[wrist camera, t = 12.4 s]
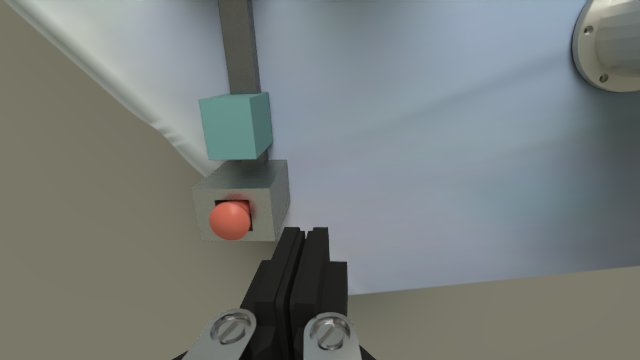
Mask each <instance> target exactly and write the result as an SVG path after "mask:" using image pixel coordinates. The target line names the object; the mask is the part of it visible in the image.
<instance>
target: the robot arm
mask: <svg viewBox="0 0 640 360" xmlns="http://www.w3.org/2000/svg"><path fill="white" fill-rule="evenodd" d="M572 50H573V59H574V62H575V65H576V68H577V69H578V71H579V73H580V74H581V76H582V77H583V78H584V79H585V80H586V81H587V82H588V83H589V84H591V85H593V86H595V87H597V88H599V89H602V90H606V91H613V92H634V91H639V90H640V0H588V2H587V3H586V5H585V6H584V8H583V10H582V12H581V14H580V16H579V18H578V21H577V23H576V27H575V31H574V34H573V43H572ZM347 297H348V281H347V262H336V261H330V256H329V235H328V227H314V228H313V231H308V234H307V237H306V238H305V231H300V228H299V227H285V228H284V231H283V233H282V235H281V238H280V240H279V242H278V245H277V247H276V250H275V252H274V254H273V257H272V259H271V260H263V261H262V262H261V263H260V266H259V268H258V270H257V272H256V274H255V276H254V278H253V280H252V283H251V285H250V287H249V289H248V291H247V293H246V295H245V298H244V300H243V302H242V304H241V306H240V308H239V309H231V310H227V311H225V312H223V313H221V314H219V315H218V316H216V317H215V318H214V319H213V320H212V321H211V322H210V323H209V324H208V325H207V327H206V328H205V329H204V331H203V332H202V333H201V335H200V336H199V337H198V339H197V340H196V342H195V343H194V344H193V345H192V347H191V348H190V349H189V350H188V351H186V352H185V353H183V354H181V355H179V356H178V357H176V358H174V359H173V360H376V359H375V358H374V357H372V356H371V355H370V354H369V353H368V352H367V351H366V350H365V349H363V348H362V347H361V346H360V345H359V343H358V338H357V333H356V329H355V327H354V324H353V323H352V322H351V320H350V319H349V318H347V300H348V298H347Z"/></svg>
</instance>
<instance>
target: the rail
mask: <svg viewBox="0 0 640 360" xmlns="http://www.w3.org/2000/svg"><path fill="white" fill-rule="evenodd" d="M218 4H219V11H220V18H221V25H222V33H223V40H224V47H225V55H226V62H227V69H228V77H229V84H230V91H231V95H236V94H259V93H261V89H260V79H259V69H258V59H257V50H256V40H255V30H254V21H253V11H252V1H251V0H218ZM267 161H268V156H267V149H266V150H265V151H264V152H263V153H262V154H261V155H260V156H259V157H258V158H257V159H240V164H241V165H264V164H265V163H266V162H267Z"/></svg>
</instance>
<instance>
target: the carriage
mask: <svg viewBox="0 0 640 360" xmlns="http://www.w3.org/2000/svg"><path fill="white" fill-rule="evenodd" d="M199 106H200V112H201V118H202V123H203V129H204V135H205V141H206V146H207V152H208V158H209V160H235V159H257V158H258V157H259V156H260V155H261V154H262V153H263V152H264V151H265V150H266V149H267V148H268V146H269V145H270V144H271V143H272V142H273V137H272V126H271V116H270V105H269V95H268V92H264V93H259V94H236V95H231V94H224V95H219V96H215V97H210V98H205V99H201V100H199Z"/></svg>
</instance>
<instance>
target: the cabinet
mask: <svg viewBox="0 0 640 360" xmlns="http://www.w3.org/2000/svg"><path fill="white" fill-rule="evenodd" d="M191 191H192V196H193V201H194V206H195V211H196V216H197V220H198V225H199V230H200V235H201V240H202V241H275V240H276V237H277V235H278V232H279V229H280V227H281V224H282V222H283V219H284V217H285V214H286V211H287V209H288V206H289V204H290V193H289V181H288V168H287V160H268V161H267V162H266V163H265V164H264V165H241V164H240V161H226V162H225V163H224V164H222V165H221V166H220V167H219V168H217V169H216V170H215V171H214V172H212V173H211V174H210V175H209V176H207V177H206V178H205V179H203V180H202V181H201V182H200V183H198V184H197V185H196V186H195V187H193V188H192V189H191ZM229 200H249V203H250V211H251V215H250V220H251V225H250V228H249V230H248V232H247V233H246V235H245V236H244V237H242V238H241V239H238V240H225V239H223V238H221V237H219V236H217V235H216V234H215V233H214V232H213V230H212V229H211V227H210V224H209V216H210V213H211V211H212V210H213V209H214V208H215V207H216V206H217V205H218V204H220V203H223V202H228V201H229Z"/></svg>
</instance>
